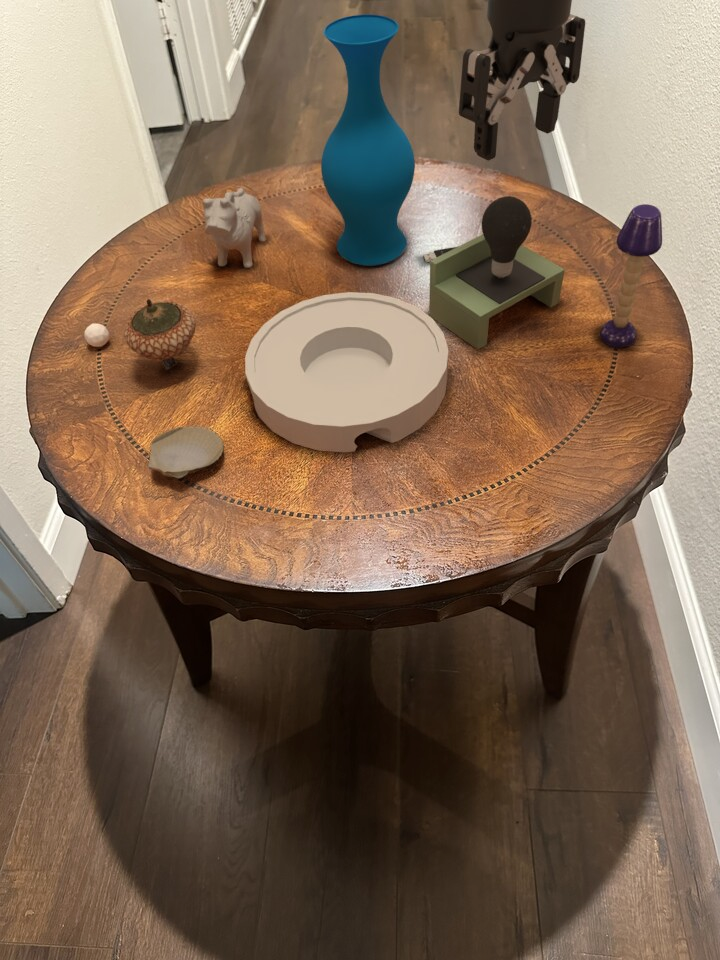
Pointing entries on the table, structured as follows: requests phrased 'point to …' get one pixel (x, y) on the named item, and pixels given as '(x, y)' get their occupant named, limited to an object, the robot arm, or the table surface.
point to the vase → (367, 148)
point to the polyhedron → (96, 335)
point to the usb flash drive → (436, 254)
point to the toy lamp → (633, 269)
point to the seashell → (184, 450)
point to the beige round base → (347, 370)
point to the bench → (486, 287)
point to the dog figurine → (233, 224)
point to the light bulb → (505, 231)
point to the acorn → (160, 331)
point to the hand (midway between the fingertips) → (515, 143)
